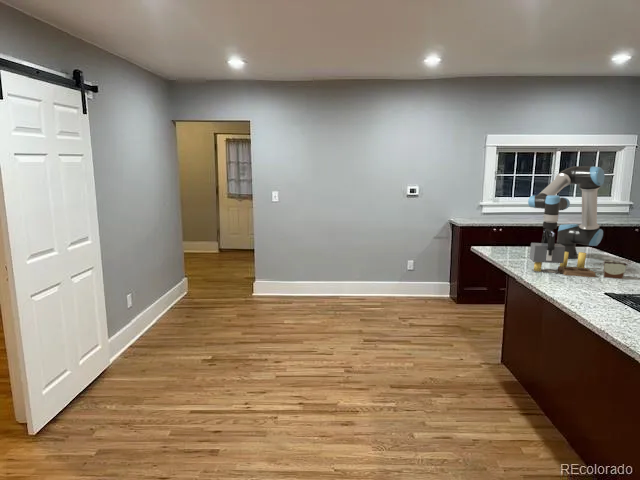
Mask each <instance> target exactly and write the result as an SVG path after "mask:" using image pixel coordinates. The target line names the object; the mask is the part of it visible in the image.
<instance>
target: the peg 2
mask: <svg viewBox="0 0 640 480" xmlns="http://www.w3.org/2000/svg"><path fill="white" fill-rule="evenodd" d="M586 257H587V253H586V252H582V251H579V252H578V254H577V262H576V263H577V265H576V267H577V268H585V265H586Z"/></svg>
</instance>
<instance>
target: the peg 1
mask: <svg viewBox="0 0 640 480" xmlns="http://www.w3.org/2000/svg"><path fill="white" fill-rule="evenodd" d="M568 254H569V252H565V254H564V262H563V263H559V266H561V267H568V262H569V261H568V260H569V258H568Z"/></svg>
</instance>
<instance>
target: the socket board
mask: <svg viewBox="0 0 640 480" xmlns="http://www.w3.org/2000/svg"><path fill="white" fill-rule="evenodd" d="M557 271H558V272H560V273H561V274H563V275H564V276H566V277H567V276H572V277H584V278H585V277H586V278H587V277H588V278H595V277H596V272H595V271H593V270H591V269H589V268H588V267H584V268H577V266H575V267H574V266H567V267H561V266H560V265H559V266H558V267H557Z"/></svg>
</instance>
